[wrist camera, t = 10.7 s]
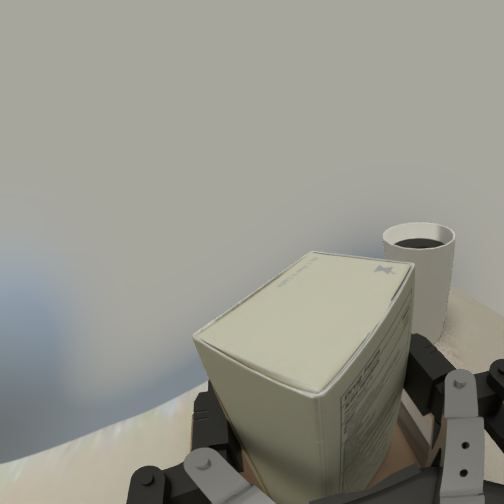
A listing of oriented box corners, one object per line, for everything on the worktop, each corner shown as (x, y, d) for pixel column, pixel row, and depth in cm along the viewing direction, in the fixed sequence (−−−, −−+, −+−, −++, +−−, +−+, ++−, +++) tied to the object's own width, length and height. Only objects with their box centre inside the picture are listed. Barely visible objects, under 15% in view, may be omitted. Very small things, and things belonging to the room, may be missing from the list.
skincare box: (330, 429, 16) (311, 246, 12) (392, 453, 13) (419, 258, 9) (262, 501, 12) (182, 330, 8) (329, 538, 9) (320, 396, 5)
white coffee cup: (458, 331, 23) (469, 234, 20) (410, 361, 22) (419, 257, 19) (417, 304, 30) (419, 217, 26) (371, 327, 28) (367, 234, 25)
